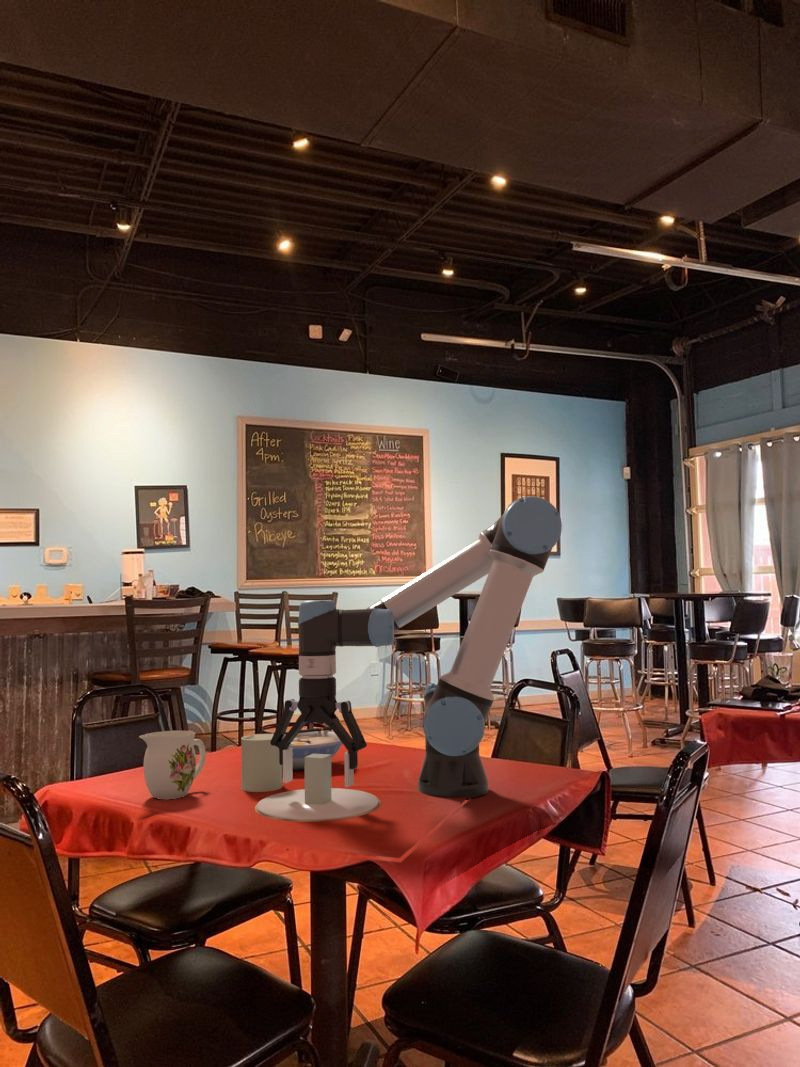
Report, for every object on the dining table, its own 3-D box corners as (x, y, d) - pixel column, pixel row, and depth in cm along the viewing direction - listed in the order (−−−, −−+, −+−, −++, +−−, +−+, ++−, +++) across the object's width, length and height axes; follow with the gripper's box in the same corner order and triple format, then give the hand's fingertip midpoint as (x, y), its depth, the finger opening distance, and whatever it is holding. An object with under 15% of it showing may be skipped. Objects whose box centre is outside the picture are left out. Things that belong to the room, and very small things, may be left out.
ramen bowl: (270, 781, 186) (270, 745, 186) (238, 765, 205) (238, 733, 206) (366, 769, 198) (365, 735, 199) (327, 755, 218) (326, 724, 219)
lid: (395, 795, 168) (394, 748, 169) (349, 825, 145) (348, 770, 146) (292, 788, 176) (292, 743, 177) (234, 815, 153) (234, 764, 154)
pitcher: (221, 789, 178) (222, 726, 179) (157, 807, 163) (158, 738, 164) (187, 784, 184) (187, 723, 185) (122, 801, 169) (123, 734, 170)
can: (237, 787, 180) (238, 733, 181) (278, 784, 183) (278, 730, 184) (243, 796, 171) (244, 739, 173) (286, 792, 175) (286, 736, 176)
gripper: (253, 677, 164) (253, 783, 162) (367, 679, 155) (368, 791, 153) (271, 674, 171) (272, 776, 169) (381, 675, 162) (382, 783, 160)
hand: (318, 783), depth 161 cm, fingers open, 13 cm apart
